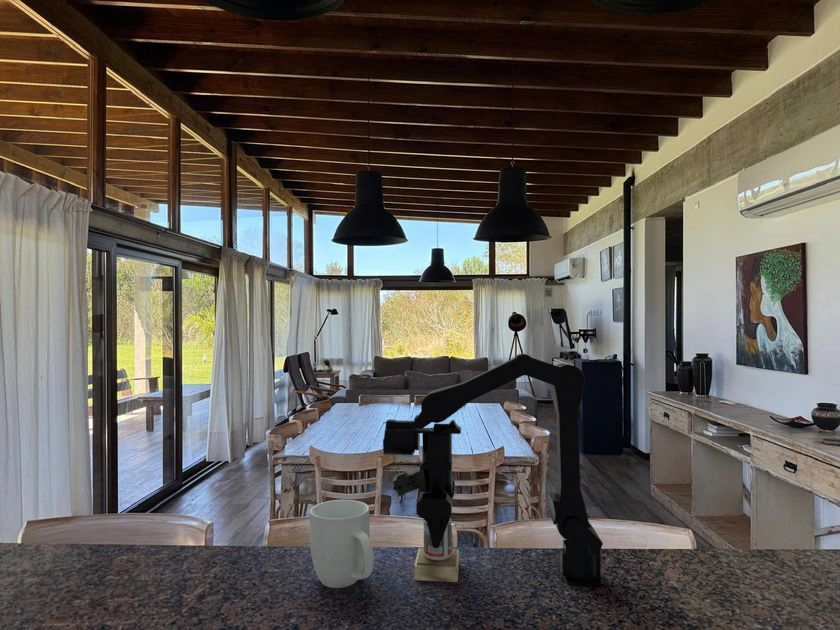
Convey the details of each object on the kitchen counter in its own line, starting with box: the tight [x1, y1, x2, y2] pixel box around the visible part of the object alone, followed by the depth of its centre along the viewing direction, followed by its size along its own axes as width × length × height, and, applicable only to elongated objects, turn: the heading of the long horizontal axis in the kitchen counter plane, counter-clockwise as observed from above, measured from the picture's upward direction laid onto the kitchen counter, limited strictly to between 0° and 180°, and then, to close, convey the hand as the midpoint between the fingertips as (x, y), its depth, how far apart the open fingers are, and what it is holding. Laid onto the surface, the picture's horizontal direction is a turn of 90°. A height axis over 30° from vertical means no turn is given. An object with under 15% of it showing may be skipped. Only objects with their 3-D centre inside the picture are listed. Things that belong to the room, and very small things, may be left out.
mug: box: [309, 499, 375, 589], centre depth 94 cm, size 15×11×13 cm
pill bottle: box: [423, 517, 453, 561], centre depth 98 cm, size 5×5×10 cm
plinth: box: [413, 546, 460, 583], centre depth 98 cm, size 8×8×3 cm
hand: (437, 538), depth 98 cm, fingers open, 9 cm apart
